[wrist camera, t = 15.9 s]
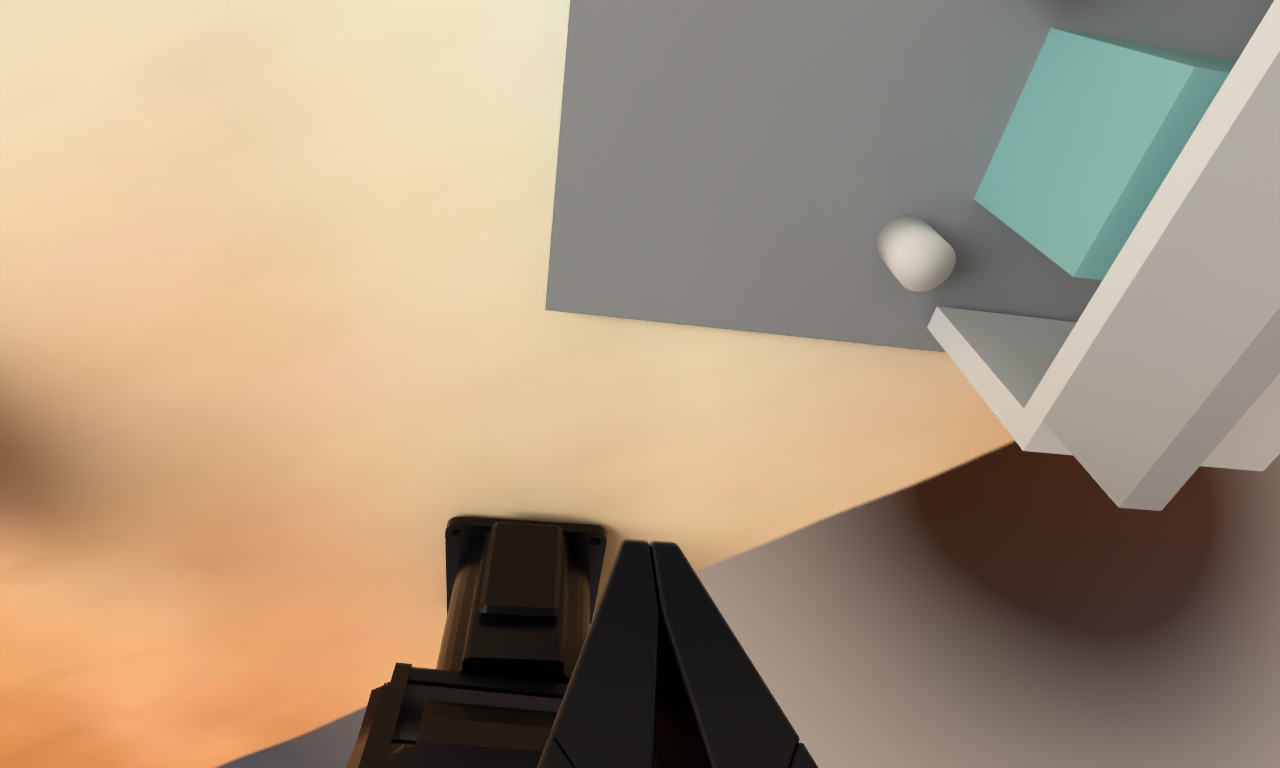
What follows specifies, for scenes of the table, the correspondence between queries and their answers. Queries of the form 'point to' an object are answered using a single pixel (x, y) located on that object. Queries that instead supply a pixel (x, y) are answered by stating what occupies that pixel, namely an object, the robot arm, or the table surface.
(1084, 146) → the block
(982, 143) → the base plate
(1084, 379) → the cover
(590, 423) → the table surface
